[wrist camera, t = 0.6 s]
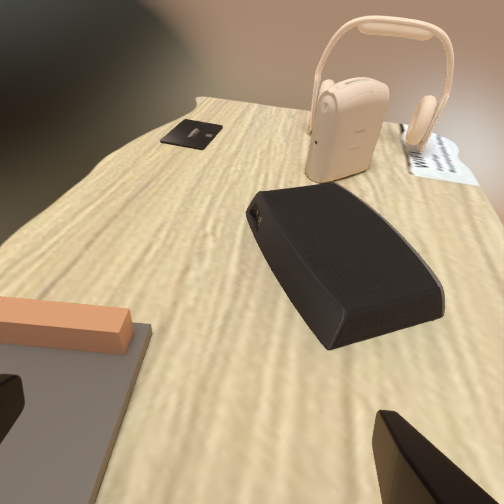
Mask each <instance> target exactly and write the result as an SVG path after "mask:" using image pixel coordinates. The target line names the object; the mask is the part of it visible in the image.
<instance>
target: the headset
mask: <svg viewBox="0 0 504 504" xmlns="http://www.w3.org/2000/svg"><path fill="white" fill-rule="evenodd" d="M355 26H358V28H359V30H360V31H361V32H362V33H364V34H370V35H387V36H398V37H405V38H411V39H416V40H428V39H430V38H431V37H433V36H434V35H435V36H436V37H438V38H439V39H440V41H441V42H442V44H443V45H444V48H445V52H446V58H447V73H446V82H445V88H444V92H443V94H442V95H441V98H440V100H439V102H438V104H437V106H436V103H437V101H436V98H435V97H434V96H432V95H427V96H425V97H423V98H422V100H421V101H420V103H419V104H418V106H417V108H416V110H415V112H414V114H413V116H412V119H411V121H410V124H409V127H408V130H407V133H406V142H407V143H408V144H409V145H417V150H418V151H419V152H422V151H423V149H424V147H425V145H426V143H427V141H428V139H429V137H430V135H431V133H432V131H433V129H434V127H435V125H436V123H437V121H438V119H439V117H440V115H441V113H442V111H443V109H444V107H445V105H446V102H447V100H448V97H449V96H450V93H451V88H452V81H453V73H454V52H453V47H452V44H451V41H450V39H449V37H448V36H447V34H446V33H445V32H444V31H443V30H441V29H440V28H439V27H437V26H435V25H433V24H430V23H427V22H423V21H419V20H414V19H406V18H400V17H389V16H365V17H360V18H356V19H353V20H351V21H349V22H348V23H346V24H345V25H343V26H342V27H341V28H340V29H339V30H338V31H337V32H336V33H335V35H334V36H333V37H332V39H331V40H330V42H329V43H328V45H327V47H326V49H325V51H324V53H323V55H322V58H321V60H320V62H319V64H318V67H317V69H316V72H315V80H314V89H313V98H312V108H311V117H310V128H309V131H312V130H313V124H314V119H315V113H316V108H317V103H318V99H319V97H320V95H321V94H322V93H323V92H324V91H325V90H326V89H328V88H329V87H331V86H333V85H335V83H334V81H332V80H330V79H327V80H325V81H324V82H323V83H322V85H321V88H320V81H321V72H322V69H323V66H324V64H325V62H326V60H327V58H328V56H329V53H330V52H331V50H332V48H333V46H334V45H335V43H336V42H337V41H338V39H339V38H340V37H341V36H342V35H343V34H344V33H345V32H346V31H348V30H349V29H351V28H353V27H355ZM319 89H320V92H319Z"/></svg>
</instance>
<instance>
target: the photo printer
mask: <svg viewBox="0 0 504 504" xmlns="http://www.w3.org/2000/svg"><path fill="white" fill-rule="evenodd" d="M389 97H390V93H389V89H388V87H387V86H386V85H385V84H384V83H381V82H379V81H376V80H374V79H371V78H364V77H360V78H352V79H348V80H345V81H342V82H339V83H337V84H335V85H333V86H331V87H329V88H328V89H326V90H325V91H324V92H323V93H322V94H321V95H320V97H319V99H318V103H317V108H316V113H315V119H314V124H313V130H312V135H311V141H310V146H309V151H308V157H307V162H306V168H305V171H306V172H307V177H308V178H309V179H311V180H312V181H314V182H317V183H325V182H329V181H333V180H337V179H340V178H343V177H347V176H350V175H353V174H356V173H359V172H362V171H364V170H366V169H367V168H368V167H369V164H370V162H371V158H372V155H373V152H374V149H375V146H376V143H377V140H378V136H379V133H380V130H381V127H382V123H383V120H384V117H385V114H386V111H387V107H388V104H389V99H390V98H389Z"/></svg>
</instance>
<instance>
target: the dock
mask: <svg viewBox="0 0 504 504" xmlns="http://www.w3.org/2000/svg"><path fill="white" fill-rule="evenodd" d="M151 335H152V328H151V324H143V323H132V319H131V315H130V310H129V309H126V308H116V307H105V306H95V305H85V304H74V303H64V302H53V301H43V300H32V299H22V298H12V297H1V296H0V374H3V373H7V374H17V375H19V376H20V377H21V379H22V384H23V390H24V397H25V406H24V409H23V411H22V413H21V415H20V416H19V418H18V419H17V421H16V422H15V424H14V425H13V427H12V428H11V429H10V431H9V432H8V434H7V435H6V437H5V438H4V440H3V441H2V443H1V444H0V504H94V503H95V500H96V497H97V494H98V491H99V488H100V485H101V482H102V479H103V476H104V473H105V470H106V467H107V464H108V462H109V459H110V456H111V453H112V450H113V447H114V444H115V441H116V438H117V435H118V432H119V429H120V426H121V423H122V420H123V417H124V414H125V411H126V408H127V406H128V403H129V400H130V397H131V394H132V391H133V388H134V385H135V382H136V379H137V376H138V373H139V370H140V367H141V364H142V361H143V358H144V355H145V352H146V350H147V347H148V344H149V341H150V338H151Z"/></svg>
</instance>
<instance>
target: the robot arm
mask: <svg viewBox="0 0 504 504" xmlns="http://www.w3.org/2000/svg"><path fill="white" fill-rule="evenodd" d="M24 406H25V397H24V390H23V384H22V379H21V377H20V376H19V375H17V374H7V373H3V374H0V444H1V443H2V441H3V440H4V438H5V437H6V435H7V434H8V432H9V431H10V429H11V428H12V427H13V425H14V424H15V422H16V421H17V419H18V418H19V416H20V415H21V413H22V411H23V409H24ZM372 448H373V454H374V459H375V465H376V470H377V476H378V482H379V487H380V493H381V498H382V504H499V503H498V502H497V501H495V500H494V499H493V498H492V497H491V496H490V495H489V494H488V493H487V492H485V491H484V490H483V489H482V488H481V487H480V486H479V485H478V484H476V483H475V482H474V481H473V480H472V479H471V478H470V477H469V476H468V475H466V474H465V473H464V472H463V471H462V470H461V469H460V468H459V467H457V466H456V465H455V464H454V463H453V462H452V461H451V460H450V459H449V458H447V457H446V456H445V455H444V454H443V453H442V452H441V451H440V450H438V449H437V448H436V447H435V446H434V445H433V444H432V443H431V442H430V441H428V440H427V439H426V438H425V437H424V436H423V435H422V434H421V433H419V432H418V431H417V430H416V429H415V428H414V427H413V426H412V425H411V424H409V423H408V422H407V421H406V420H405V419H404V418H403V417H402V416H400V415H399V414H398V413H397V412H395V411H388V410H379V411H378V412H377V414H376V418H375V425H374V431H373V437H372Z"/></svg>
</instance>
